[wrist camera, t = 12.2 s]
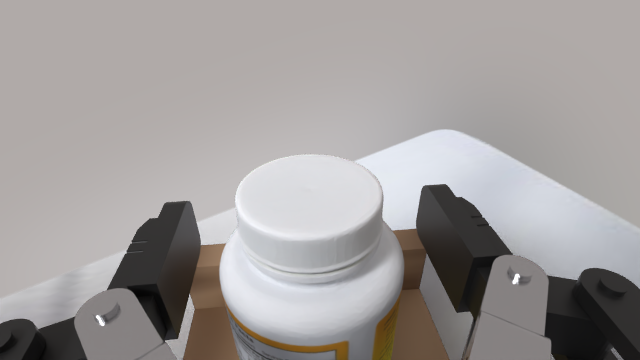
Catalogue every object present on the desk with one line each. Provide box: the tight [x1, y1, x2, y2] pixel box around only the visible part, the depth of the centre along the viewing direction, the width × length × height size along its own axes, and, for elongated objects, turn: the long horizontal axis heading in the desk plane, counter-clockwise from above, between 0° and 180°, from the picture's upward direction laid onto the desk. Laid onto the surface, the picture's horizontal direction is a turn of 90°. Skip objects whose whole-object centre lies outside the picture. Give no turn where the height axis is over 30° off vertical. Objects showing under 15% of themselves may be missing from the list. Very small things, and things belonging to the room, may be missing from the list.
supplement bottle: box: [219, 154, 404, 360], centre depth 12 cm, size 6×6×10 cm
